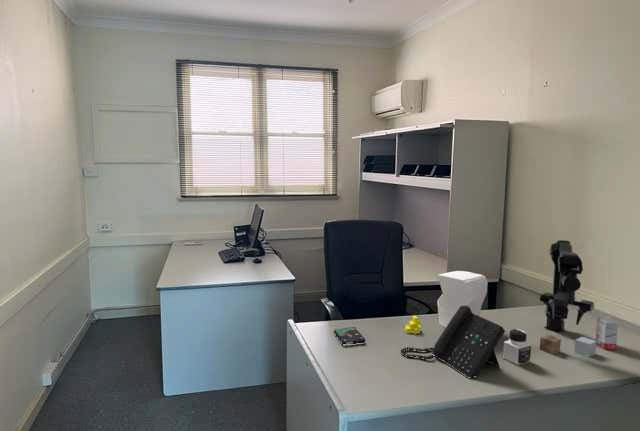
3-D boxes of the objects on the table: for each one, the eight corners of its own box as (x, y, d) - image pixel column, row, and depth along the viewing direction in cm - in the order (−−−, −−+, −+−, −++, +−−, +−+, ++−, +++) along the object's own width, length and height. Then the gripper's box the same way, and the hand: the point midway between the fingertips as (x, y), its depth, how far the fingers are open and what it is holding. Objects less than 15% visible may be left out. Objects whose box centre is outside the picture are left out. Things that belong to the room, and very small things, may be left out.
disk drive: (366, 345, 185) (354, 332, 200) (366, 339, 185) (354, 326, 199) (343, 348, 183) (332, 334, 197) (343, 341, 182) (332, 328, 196)
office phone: (396, 352, 178) (398, 305, 175) (451, 341, 189) (453, 296, 187) (443, 386, 151) (446, 330, 149) (504, 370, 162) (507, 319, 160)
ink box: (616, 350, 180) (618, 323, 179) (603, 349, 181) (605, 322, 180) (607, 342, 188) (609, 316, 187) (594, 341, 189) (597, 315, 188)
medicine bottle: (518, 365, 166) (520, 335, 165) (502, 358, 172) (504, 329, 171) (530, 361, 169) (532, 332, 168) (514, 354, 176) (516, 326, 174)
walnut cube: (539, 349, 181) (540, 337, 180) (547, 346, 184) (547, 334, 183) (552, 354, 176) (553, 341, 175) (559, 351, 179) (560, 339, 178)
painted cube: (574, 352, 178) (575, 339, 178) (581, 349, 181) (582, 336, 181) (588, 357, 174) (589, 344, 173) (595, 354, 177) (596, 341, 176)
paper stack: (427, 324, 208) (429, 272, 205) (468, 315, 221) (470, 266, 218) (461, 340, 190) (463, 283, 187) (502, 329, 202) (505, 276, 199)
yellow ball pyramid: (401, 330, 200) (402, 314, 199) (415, 328, 204) (416, 312, 203) (409, 335, 195) (410, 318, 194) (423, 332, 198) (424, 316, 198)
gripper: (536, 283, 177) (533, 320, 179) (587, 293, 164) (584, 333, 166) (545, 279, 185) (543, 314, 187) (595, 288, 172) (592, 326, 173)
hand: (564, 321), depth 178 cm, fingers open, 9 cm apart
